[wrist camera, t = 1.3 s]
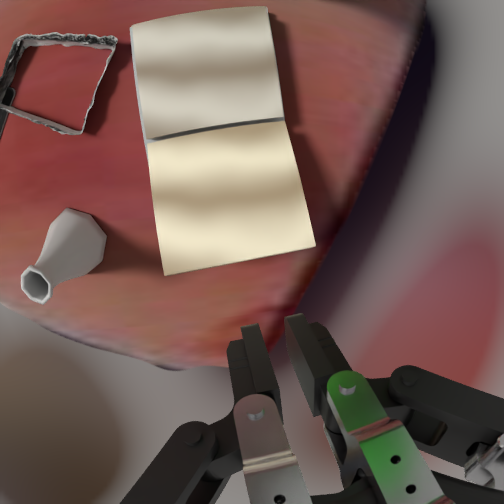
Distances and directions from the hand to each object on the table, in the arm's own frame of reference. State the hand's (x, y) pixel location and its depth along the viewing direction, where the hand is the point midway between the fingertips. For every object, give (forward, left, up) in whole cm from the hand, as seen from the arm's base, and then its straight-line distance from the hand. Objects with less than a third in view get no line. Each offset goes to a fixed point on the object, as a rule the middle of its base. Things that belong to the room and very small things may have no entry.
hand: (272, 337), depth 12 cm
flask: (0, -16, -19) cm, 25 cm away
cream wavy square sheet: (-3, 0, -15) cm, 15 cm away
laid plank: (-14, 0, -18) cm, 23 cm away
